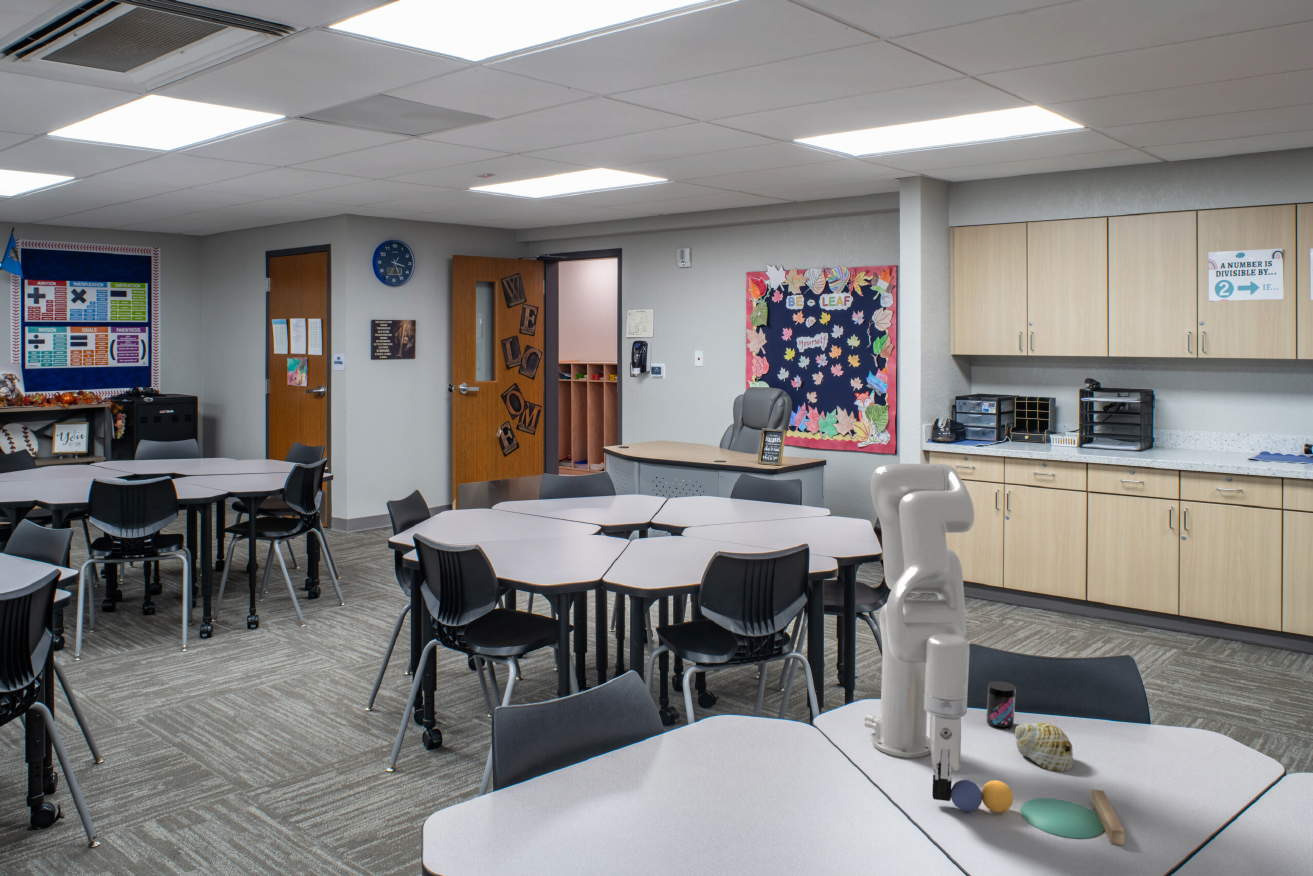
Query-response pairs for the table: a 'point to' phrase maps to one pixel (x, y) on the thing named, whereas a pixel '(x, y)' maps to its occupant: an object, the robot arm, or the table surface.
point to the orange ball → (997, 796)
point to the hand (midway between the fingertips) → (941, 798)
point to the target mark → (1062, 818)
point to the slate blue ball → (966, 795)
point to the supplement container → (1001, 704)
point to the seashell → (1045, 745)
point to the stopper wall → (1108, 817)
